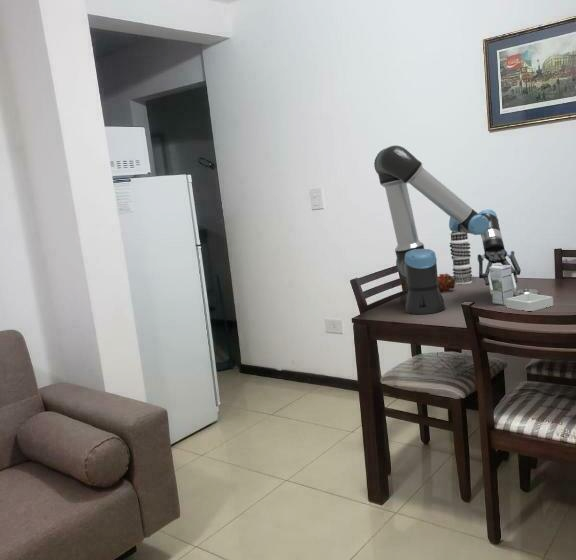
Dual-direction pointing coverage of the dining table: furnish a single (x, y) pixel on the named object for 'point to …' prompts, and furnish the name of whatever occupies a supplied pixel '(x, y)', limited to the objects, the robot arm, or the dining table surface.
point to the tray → (529, 302)
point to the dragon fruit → (445, 282)
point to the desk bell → (525, 292)
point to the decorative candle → (461, 258)
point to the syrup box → (501, 283)
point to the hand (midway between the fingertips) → (503, 290)
